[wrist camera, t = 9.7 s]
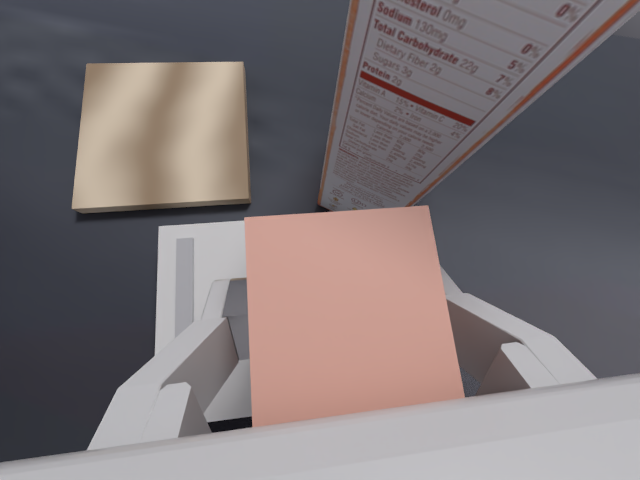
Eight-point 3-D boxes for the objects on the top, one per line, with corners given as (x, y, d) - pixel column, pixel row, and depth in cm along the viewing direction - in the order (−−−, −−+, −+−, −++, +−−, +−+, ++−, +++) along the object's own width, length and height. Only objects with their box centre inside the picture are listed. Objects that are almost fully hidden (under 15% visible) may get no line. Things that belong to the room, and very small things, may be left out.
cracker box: (376, 73, 25) (724, -934, 5) (438, 101, 25) (1072, -812, 5) (309, 205, 22) (502, -1294, 1) (380, 238, 22) (1783, -877, 1)
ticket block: (354, 260, 14) (428, 205, 6) (365, 344, 13) (465, 403, 5) (274, 267, 14) (244, 217, 6) (279, 354, 13) (252, 434, 5)
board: (245, 71, 24) (242, 61, 23) (251, 203, 21) (248, 198, 20) (95, 73, 23) (86, 63, 22) (82, 213, 20) (71, 208, 19)
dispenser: (353, 221, 22) (359, 211, 19) (374, 388, 19) (384, 399, 17) (172, 233, 20) (156, 225, 18) (168, 415, 18) (149, 431, 15)
